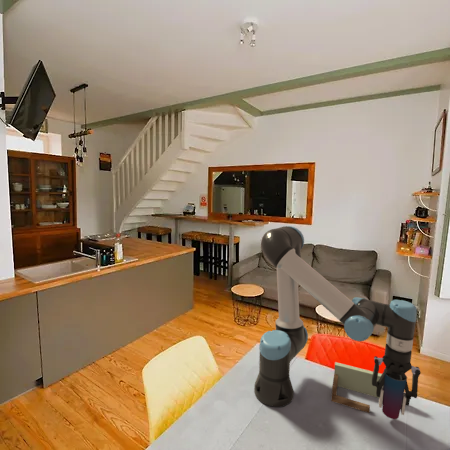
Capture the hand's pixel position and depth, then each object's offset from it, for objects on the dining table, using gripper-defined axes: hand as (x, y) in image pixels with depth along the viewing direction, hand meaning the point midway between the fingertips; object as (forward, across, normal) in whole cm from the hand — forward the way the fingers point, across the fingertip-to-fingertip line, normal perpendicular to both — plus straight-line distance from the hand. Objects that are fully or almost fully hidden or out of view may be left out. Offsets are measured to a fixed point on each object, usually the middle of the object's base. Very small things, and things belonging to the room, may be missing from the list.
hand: (391, 408), depth 98 cm
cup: (+2, 0, 0) cm, 2 cm away
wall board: (+5, -7, +11) cm, 14 cm away
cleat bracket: (+5, -13, +6) cm, 15 cm away
